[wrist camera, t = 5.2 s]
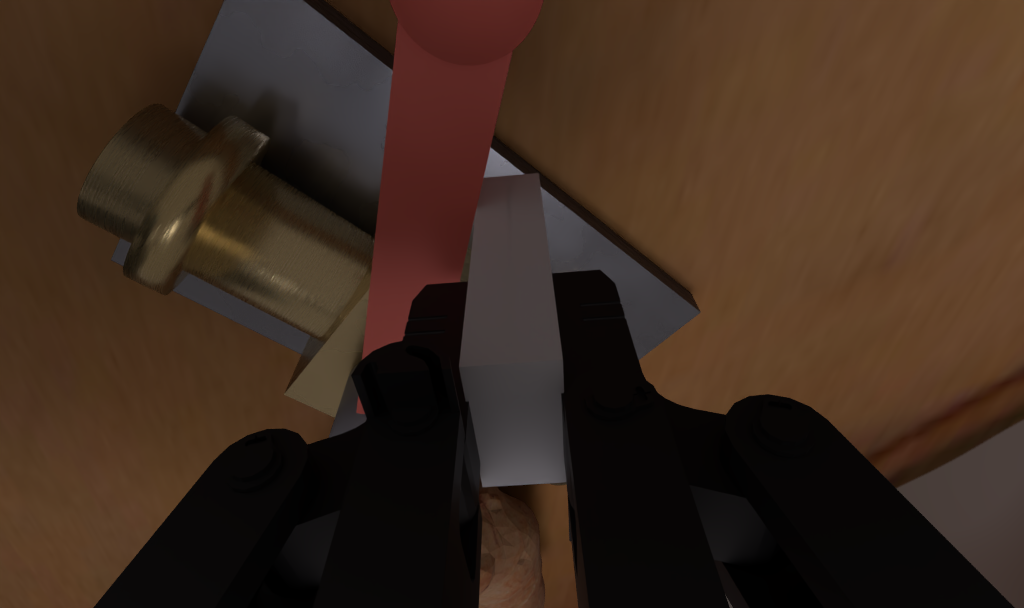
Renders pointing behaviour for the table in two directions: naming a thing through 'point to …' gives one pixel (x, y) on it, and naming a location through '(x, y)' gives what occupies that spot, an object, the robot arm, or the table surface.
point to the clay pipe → (509, 553)
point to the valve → (305, 194)
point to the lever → (434, 154)
